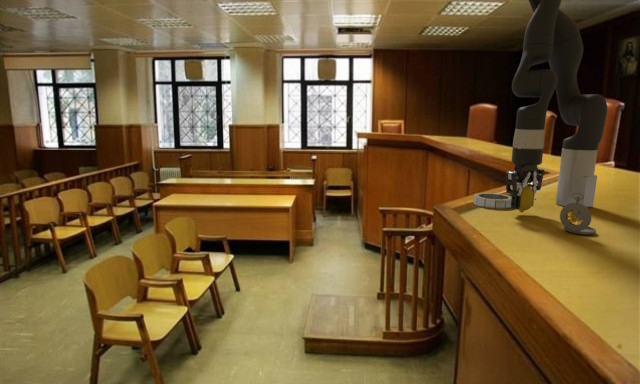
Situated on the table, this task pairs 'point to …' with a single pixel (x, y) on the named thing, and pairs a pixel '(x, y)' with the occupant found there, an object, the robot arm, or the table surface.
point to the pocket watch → (577, 217)
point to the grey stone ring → (492, 200)
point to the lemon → (526, 198)
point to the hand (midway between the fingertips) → (522, 207)
